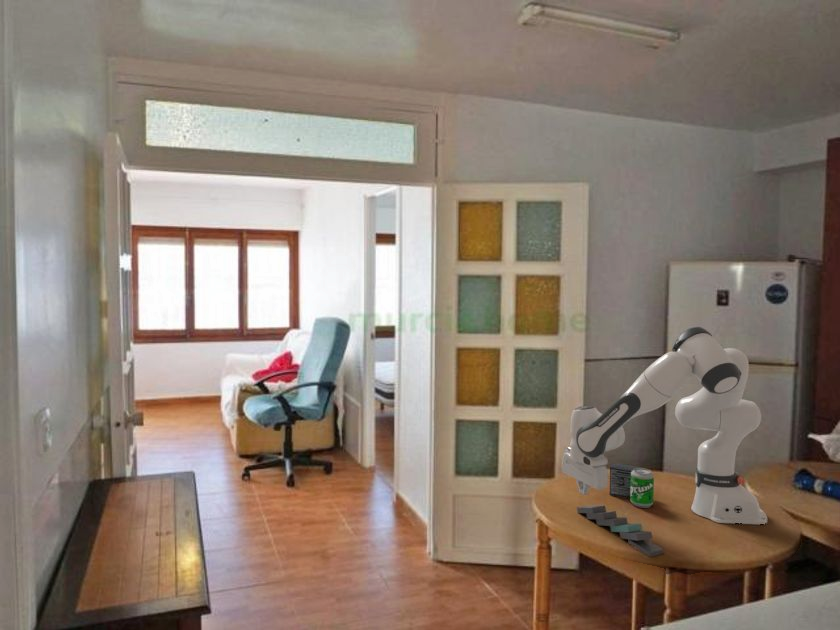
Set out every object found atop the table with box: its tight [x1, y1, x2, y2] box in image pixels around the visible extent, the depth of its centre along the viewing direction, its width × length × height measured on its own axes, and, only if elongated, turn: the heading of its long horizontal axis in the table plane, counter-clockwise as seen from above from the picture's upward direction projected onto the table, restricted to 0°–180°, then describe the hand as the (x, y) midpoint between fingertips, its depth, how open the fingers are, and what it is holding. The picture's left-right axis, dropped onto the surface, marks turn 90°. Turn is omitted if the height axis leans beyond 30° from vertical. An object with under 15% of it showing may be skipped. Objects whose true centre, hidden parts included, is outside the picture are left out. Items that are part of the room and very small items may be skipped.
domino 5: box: [618, 530, 653, 541], centre depth 180 cm, size 2×5×9 cm
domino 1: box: [576, 504, 607, 514], centre depth 199 cm, size 2×5×9 cm
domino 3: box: [595, 516, 629, 527], centre depth 190 cm, size 2×5×9 cm
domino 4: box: [609, 523, 644, 533], centre depth 184 cm, size 2×5×9 cm
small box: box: [609, 463, 644, 500], centre depth 218 cm, size 11×6×10 cm, turn 58°
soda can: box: [629, 467, 655, 509], centre depth 209 cm, size 8×8×12 cm
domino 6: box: [627, 539, 664, 558], centre depth 176 cm, size 2×5×9 cm
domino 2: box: [585, 510, 618, 520], centre depth 194 cm, size 2×5×9 cm
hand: (583, 493), depth 203 cm, fingers closed
